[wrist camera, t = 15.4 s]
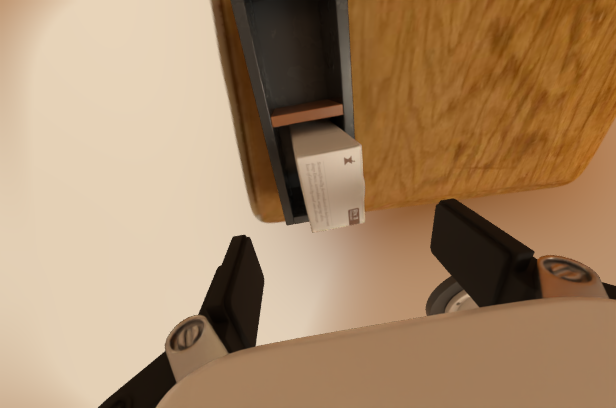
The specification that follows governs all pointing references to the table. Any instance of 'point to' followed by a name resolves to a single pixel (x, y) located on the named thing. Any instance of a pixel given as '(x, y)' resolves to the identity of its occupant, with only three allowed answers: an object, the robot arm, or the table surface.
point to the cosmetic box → (329, 174)
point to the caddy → (296, 77)
